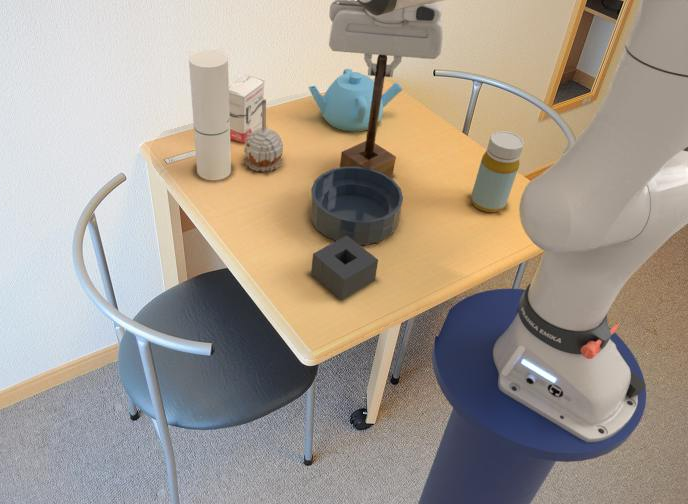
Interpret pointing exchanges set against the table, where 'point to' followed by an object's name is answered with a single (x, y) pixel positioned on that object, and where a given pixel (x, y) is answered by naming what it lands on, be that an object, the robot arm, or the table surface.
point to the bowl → (355, 204)
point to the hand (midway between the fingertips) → (380, 75)
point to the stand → (344, 267)
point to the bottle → (497, 171)
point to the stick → (375, 103)
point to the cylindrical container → (211, 113)
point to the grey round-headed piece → (263, 147)
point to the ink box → (245, 107)
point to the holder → (369, 159)
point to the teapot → (351, 101)
